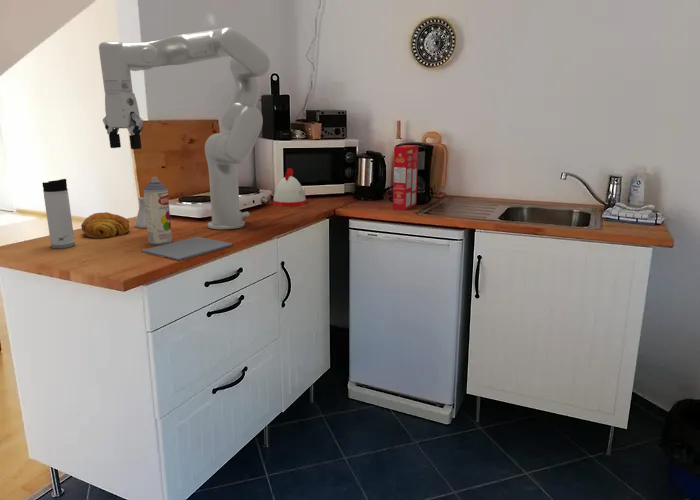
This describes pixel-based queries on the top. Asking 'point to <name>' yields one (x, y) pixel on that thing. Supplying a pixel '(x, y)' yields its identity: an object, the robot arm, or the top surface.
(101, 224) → the croissant
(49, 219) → the travel mug
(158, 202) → the aerosol can
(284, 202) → the kitchen timer
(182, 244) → the mat
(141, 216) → the flask
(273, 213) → the top surface
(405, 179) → the food packaging
